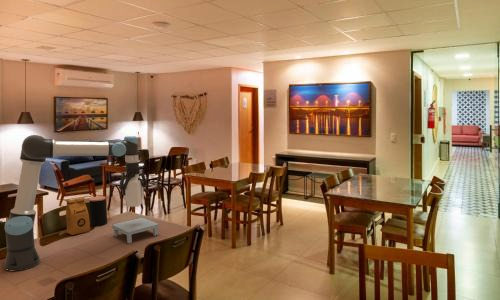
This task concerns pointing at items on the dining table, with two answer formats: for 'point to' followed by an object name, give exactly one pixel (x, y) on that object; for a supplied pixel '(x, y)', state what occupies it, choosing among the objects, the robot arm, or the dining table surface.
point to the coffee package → (77, 216)
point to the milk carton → (134, 192)
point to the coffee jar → (98, 211)
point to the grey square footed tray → (135, 227)
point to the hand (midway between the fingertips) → (134, 198)
